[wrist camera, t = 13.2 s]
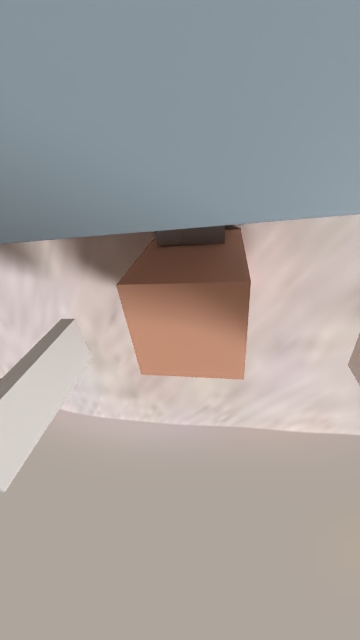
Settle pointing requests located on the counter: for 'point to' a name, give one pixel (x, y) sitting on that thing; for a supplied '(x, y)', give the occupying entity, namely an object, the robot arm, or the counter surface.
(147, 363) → the block
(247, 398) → the counter surface
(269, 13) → the blue toy stool
